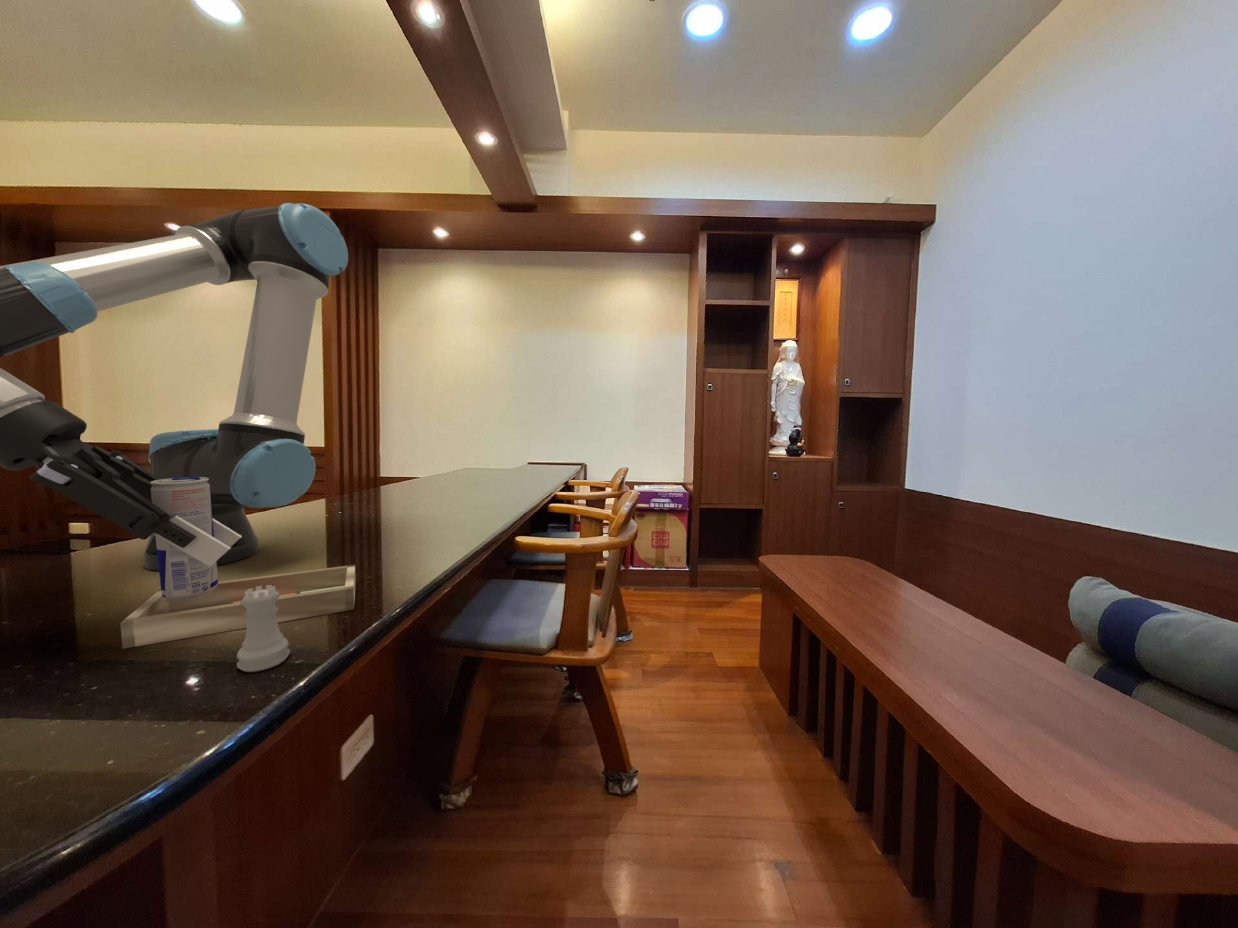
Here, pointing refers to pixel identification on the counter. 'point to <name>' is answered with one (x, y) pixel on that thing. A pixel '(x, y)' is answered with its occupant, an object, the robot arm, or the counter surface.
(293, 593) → the pads
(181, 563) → the beverage can
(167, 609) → the wooden serving tray
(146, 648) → the counter surface
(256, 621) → the rook chess piece
